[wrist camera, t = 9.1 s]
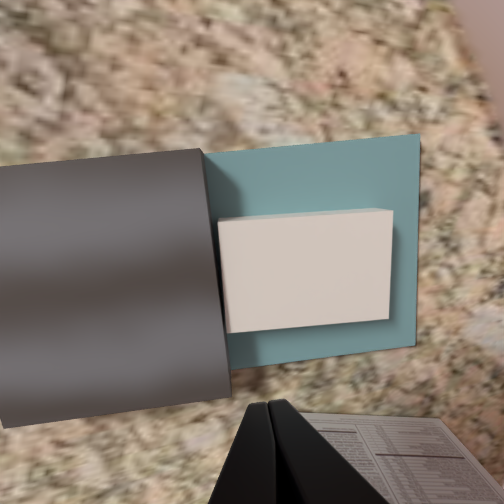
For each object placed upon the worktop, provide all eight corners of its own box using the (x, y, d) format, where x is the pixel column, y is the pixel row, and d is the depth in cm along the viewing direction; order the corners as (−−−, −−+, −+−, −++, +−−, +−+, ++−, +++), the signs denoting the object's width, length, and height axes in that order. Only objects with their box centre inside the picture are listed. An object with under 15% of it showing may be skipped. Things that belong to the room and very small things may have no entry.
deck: (231, 365, 20) (231, 397, 17) (38, 391, 19) (3, 428, 16) (204, 154, 17) (199, 148, 14) (-24, 176, 16) (-80, 173, 13)
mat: (410, 341, 20) (415, 345, 20) (231, 365, 20) (231, 369, 19) (414, 135, 17) (420, 133, 17) (204, 154, 17) (203, 153, 16)
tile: (372, 305, 19) (388, 318, 17) (226, 317, 18) (226, 333, 16) (375, 207, 18) (393, 210, 16) (218, 217, 17) (217, 222, 15)
